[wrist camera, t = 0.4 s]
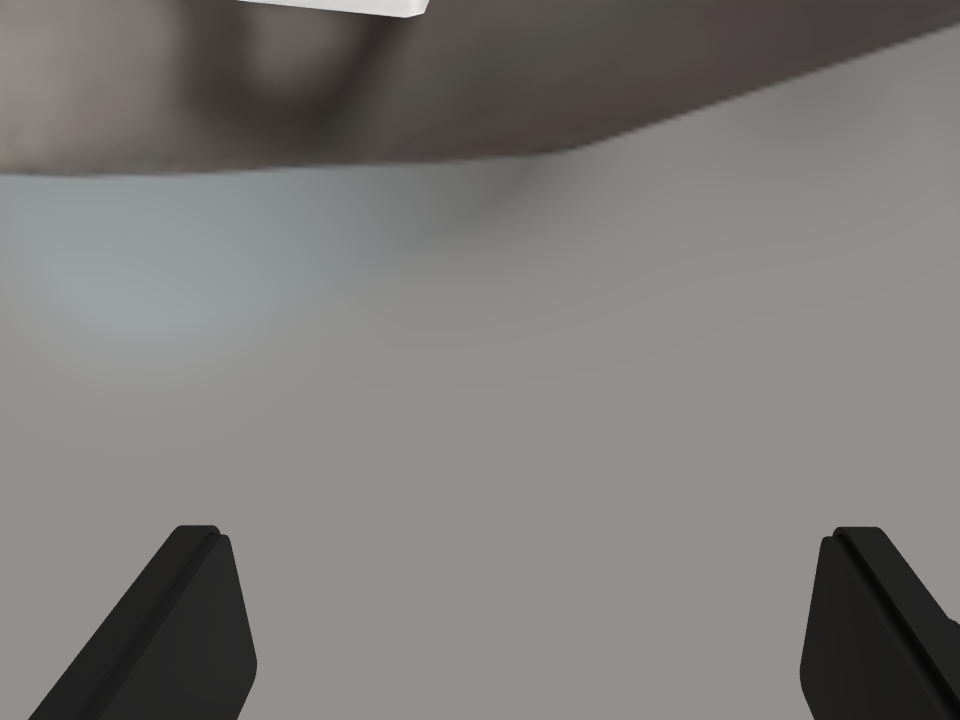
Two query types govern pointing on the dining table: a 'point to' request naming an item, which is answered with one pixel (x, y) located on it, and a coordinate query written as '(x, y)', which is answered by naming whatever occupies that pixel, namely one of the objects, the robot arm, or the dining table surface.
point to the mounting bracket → (360, 6)
